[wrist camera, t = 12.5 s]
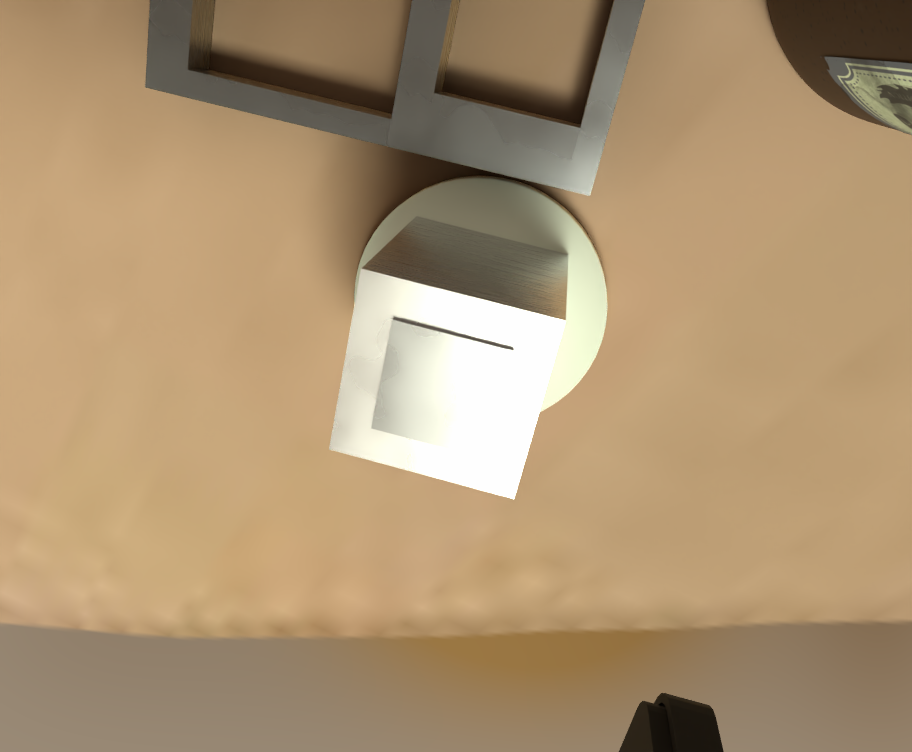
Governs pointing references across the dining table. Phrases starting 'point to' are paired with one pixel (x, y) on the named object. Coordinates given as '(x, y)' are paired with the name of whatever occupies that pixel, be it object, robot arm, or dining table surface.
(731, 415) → the dining table surface
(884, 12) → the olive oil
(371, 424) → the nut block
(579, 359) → the cream dome cap
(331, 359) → the dining table surface
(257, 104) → the metal rectangular frame
